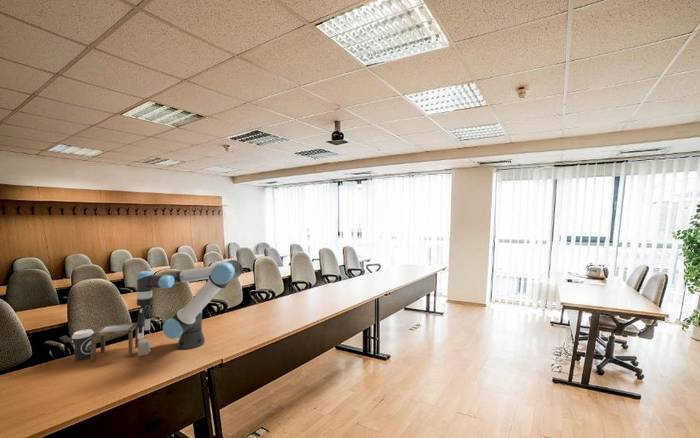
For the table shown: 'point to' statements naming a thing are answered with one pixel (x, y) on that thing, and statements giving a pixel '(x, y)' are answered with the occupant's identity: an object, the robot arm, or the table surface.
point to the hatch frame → (96, 333)
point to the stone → (144, 347)
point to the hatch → (116, 328)
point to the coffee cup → (82, 344)
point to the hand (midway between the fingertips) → (144, 334)
